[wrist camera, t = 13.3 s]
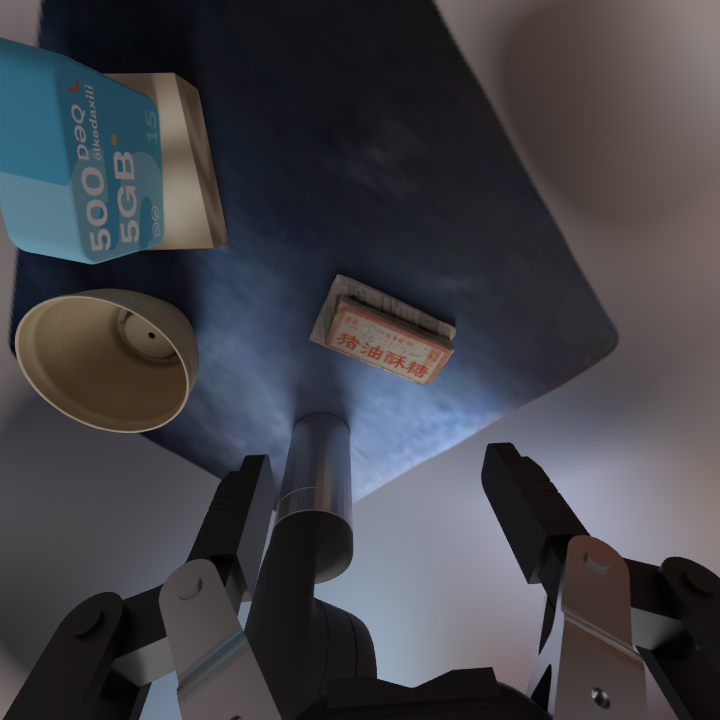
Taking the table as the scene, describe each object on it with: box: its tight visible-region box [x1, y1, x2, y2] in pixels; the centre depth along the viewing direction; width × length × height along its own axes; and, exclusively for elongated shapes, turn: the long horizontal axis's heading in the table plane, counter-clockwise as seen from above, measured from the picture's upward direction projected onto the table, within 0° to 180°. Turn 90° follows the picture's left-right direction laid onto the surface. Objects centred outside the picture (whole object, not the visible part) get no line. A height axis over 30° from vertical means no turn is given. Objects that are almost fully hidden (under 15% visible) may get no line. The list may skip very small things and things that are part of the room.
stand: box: [104, 73, 229, 250], centre depth 32 cm, size 14×11×5 cm
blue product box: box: [0, 37, 164, 264], centre depth 25 cm, size 12×4×12 cm, turn 167°
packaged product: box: [309, 274, 456, 385], centre depth 43 cm, size 18×5×10 cm
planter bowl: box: [15, 289, 199, 433], centre depth 38 cm, size 16×16×11 cm
